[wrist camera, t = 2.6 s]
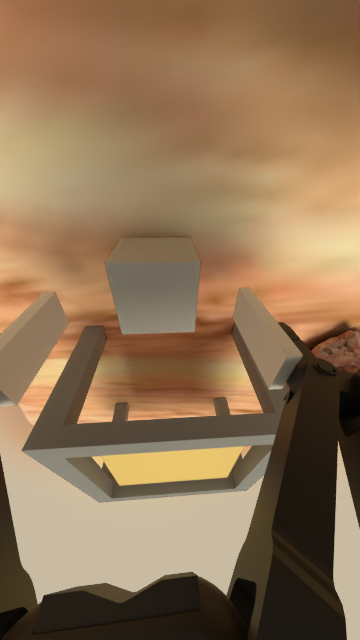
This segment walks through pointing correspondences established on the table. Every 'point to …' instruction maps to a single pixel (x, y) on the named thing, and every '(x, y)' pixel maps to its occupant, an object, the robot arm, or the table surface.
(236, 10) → the table surface
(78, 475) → the frame
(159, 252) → the grey cube
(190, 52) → the table surface
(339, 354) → the rock
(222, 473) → the hatch
